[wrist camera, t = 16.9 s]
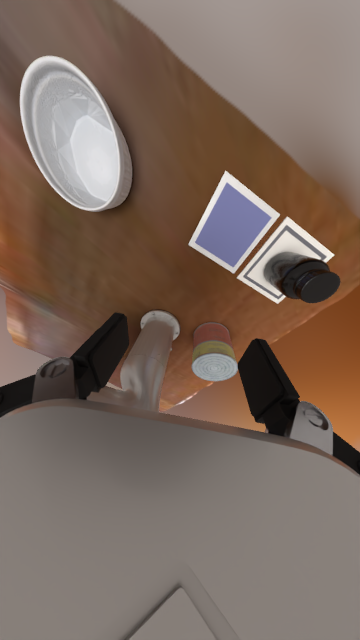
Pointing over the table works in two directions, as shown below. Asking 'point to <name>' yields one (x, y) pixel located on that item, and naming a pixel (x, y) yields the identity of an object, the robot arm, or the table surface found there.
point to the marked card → (280, 241)
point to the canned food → (213, 353)
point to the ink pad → (232, 224)
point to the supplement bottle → (301, 277)
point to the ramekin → (74, 135)
